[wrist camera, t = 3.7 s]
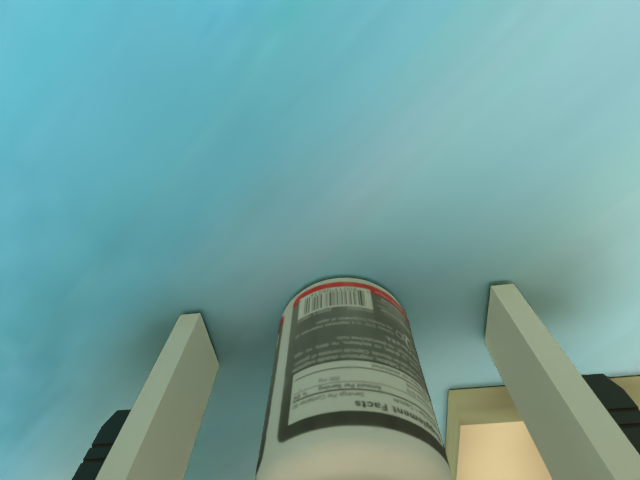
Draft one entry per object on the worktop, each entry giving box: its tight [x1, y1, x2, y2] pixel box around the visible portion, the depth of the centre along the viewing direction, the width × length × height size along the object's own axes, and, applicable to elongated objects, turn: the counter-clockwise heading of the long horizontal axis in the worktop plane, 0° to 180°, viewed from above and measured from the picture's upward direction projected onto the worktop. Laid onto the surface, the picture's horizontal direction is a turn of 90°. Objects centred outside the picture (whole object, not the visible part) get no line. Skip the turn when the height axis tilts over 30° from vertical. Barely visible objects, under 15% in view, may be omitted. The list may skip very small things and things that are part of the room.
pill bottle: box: [255, 278, 453, 480], centre depth 10 cm, size 5×5×8 cm
